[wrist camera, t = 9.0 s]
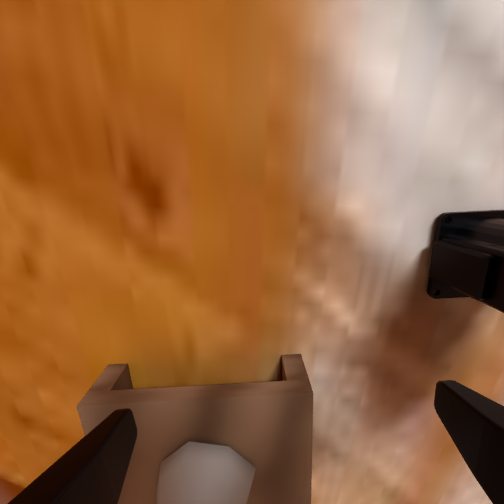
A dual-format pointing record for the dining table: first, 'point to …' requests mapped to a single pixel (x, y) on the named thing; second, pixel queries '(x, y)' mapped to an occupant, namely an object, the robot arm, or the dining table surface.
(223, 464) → the flask
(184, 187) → the dining table surface
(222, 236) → the dining table surface
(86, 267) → the dining table surface
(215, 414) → the walnut shelf
